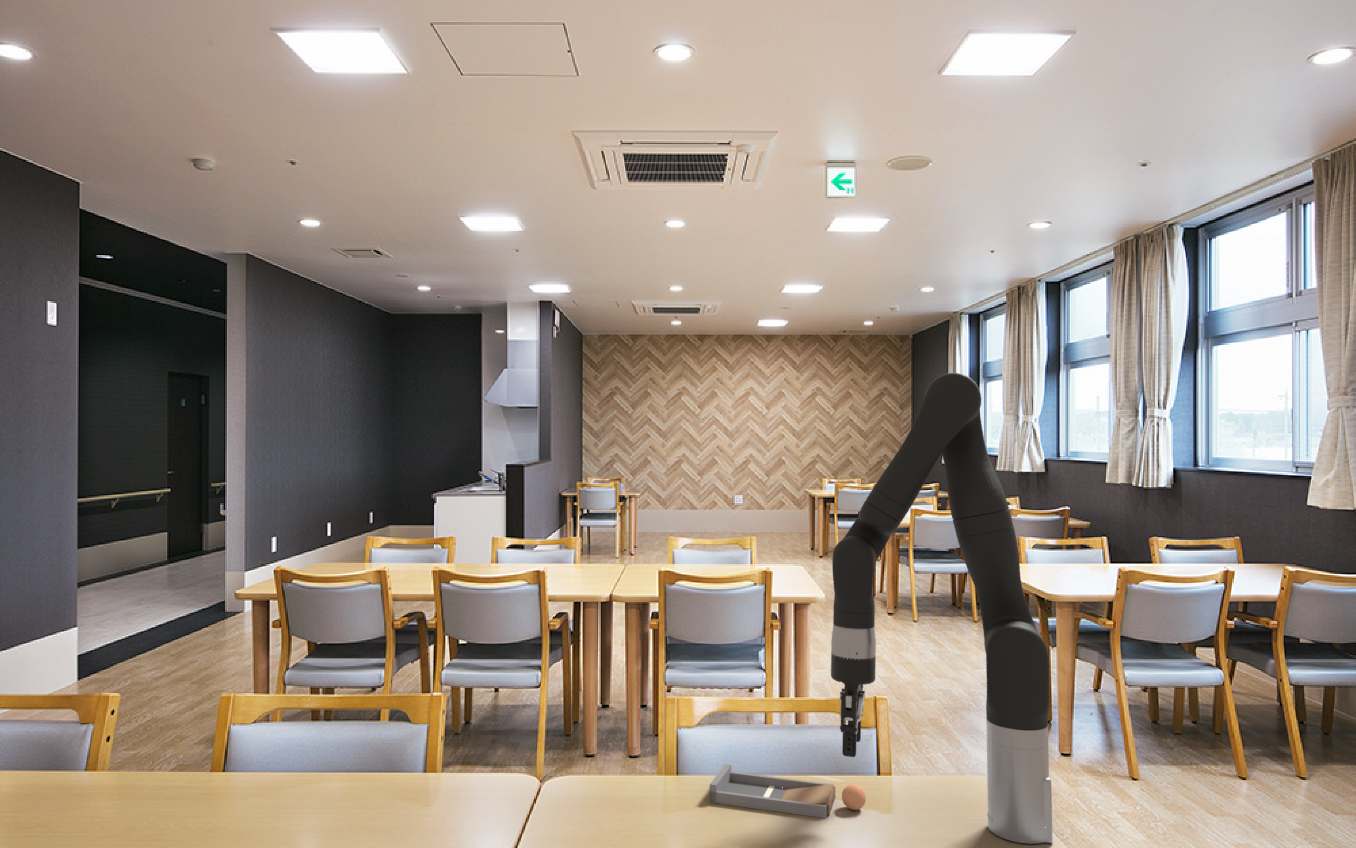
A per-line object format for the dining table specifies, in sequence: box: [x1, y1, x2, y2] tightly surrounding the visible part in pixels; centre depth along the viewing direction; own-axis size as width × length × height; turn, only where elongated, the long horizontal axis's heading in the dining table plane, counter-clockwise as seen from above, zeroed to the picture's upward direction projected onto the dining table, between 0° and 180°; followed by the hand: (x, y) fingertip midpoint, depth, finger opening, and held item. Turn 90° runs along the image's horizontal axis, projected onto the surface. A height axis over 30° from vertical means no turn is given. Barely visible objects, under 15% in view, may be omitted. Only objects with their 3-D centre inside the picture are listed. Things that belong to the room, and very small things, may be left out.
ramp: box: [782, 783, 836, 817], centre depth 139 cm, size 9×9×3 cm
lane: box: [709, 763, 835, 819], centre depth 141 cm, size 20×11×3 cm, turn 72°
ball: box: [841, 783, 867, 811], centre depth 137 cm, size 4×4×4 cm
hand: (851, 748), depth 138 cm, fingers open, 8 cm apart
